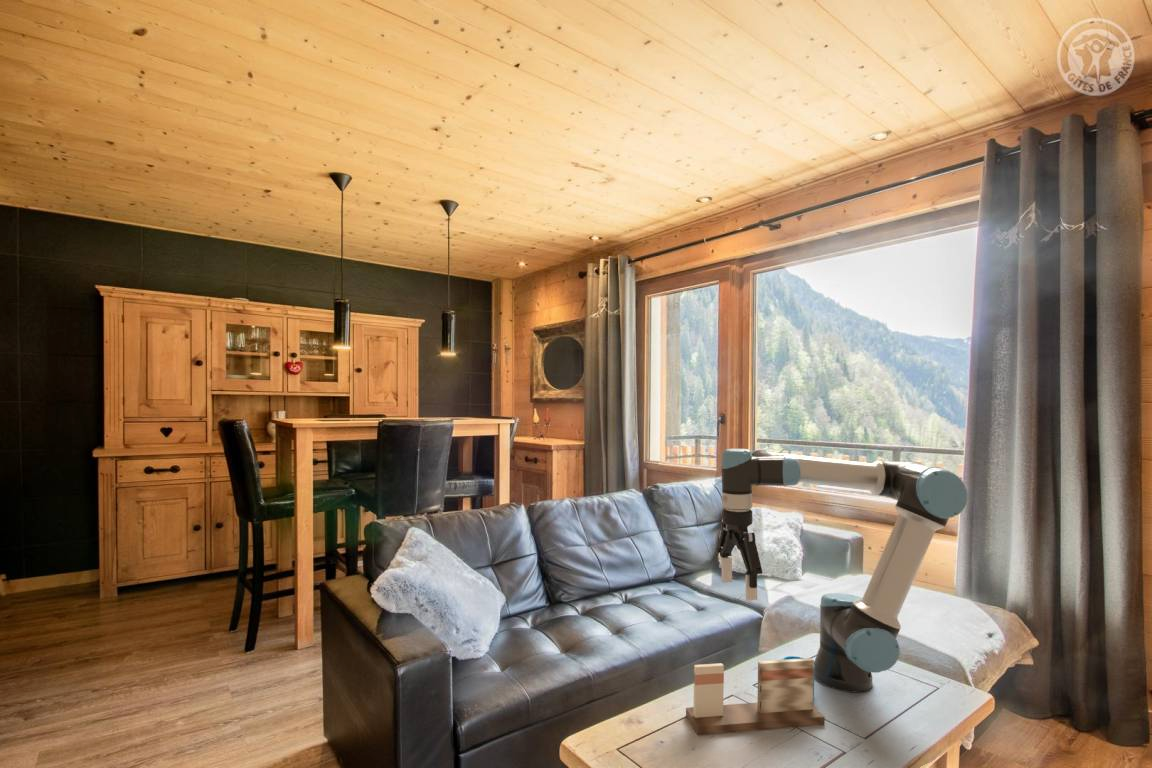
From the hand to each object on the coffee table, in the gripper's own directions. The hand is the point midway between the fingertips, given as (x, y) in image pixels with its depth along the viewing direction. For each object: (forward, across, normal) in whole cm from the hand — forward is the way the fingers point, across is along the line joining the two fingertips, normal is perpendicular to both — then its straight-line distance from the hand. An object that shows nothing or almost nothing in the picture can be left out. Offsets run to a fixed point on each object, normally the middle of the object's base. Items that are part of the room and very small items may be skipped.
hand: (738, 590), depth 150 cm
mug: (+29, -2, +16) cm, 33 cm away
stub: (+26, +9, -13) cm, 30 cm away
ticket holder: (+28, +10, -1) cm, 30 cm away
